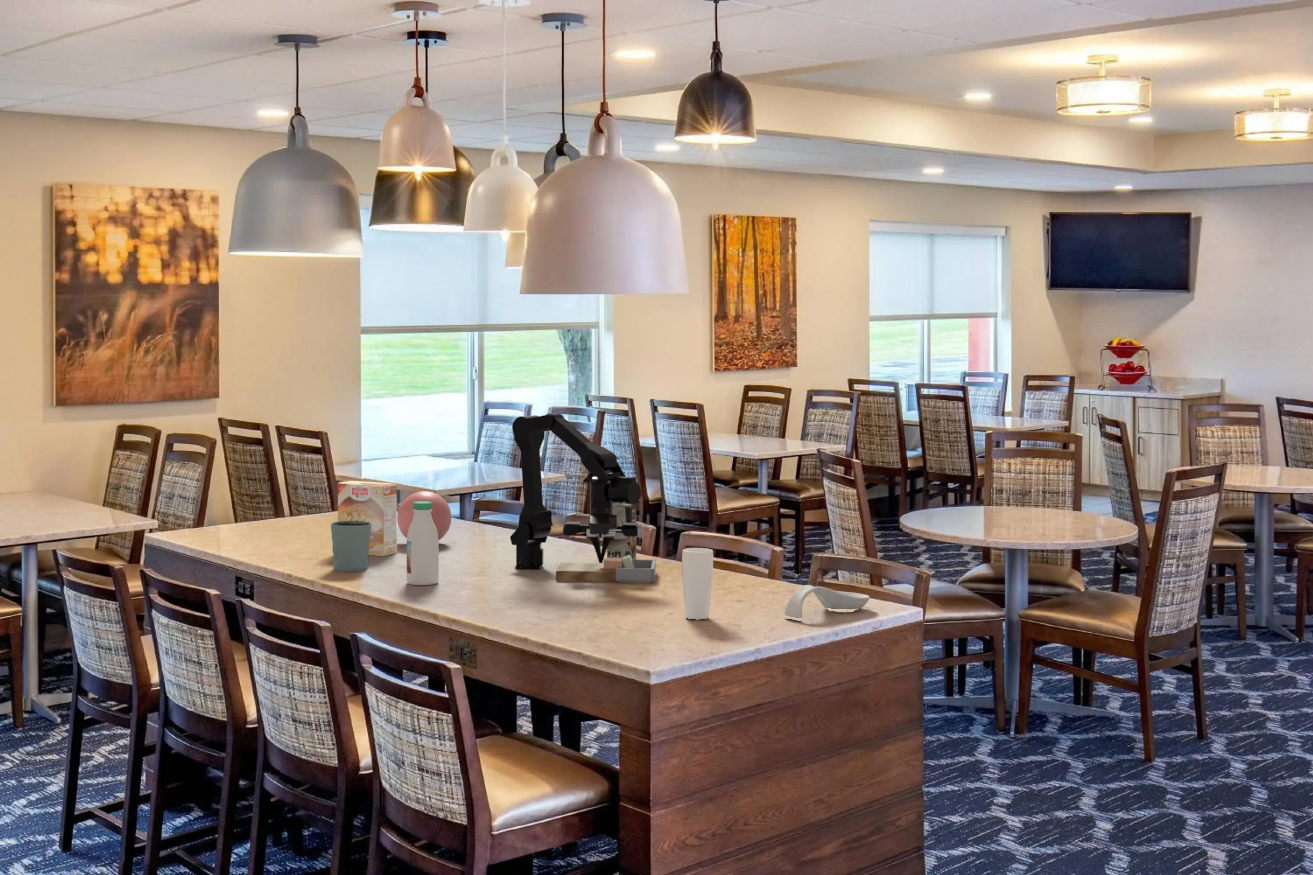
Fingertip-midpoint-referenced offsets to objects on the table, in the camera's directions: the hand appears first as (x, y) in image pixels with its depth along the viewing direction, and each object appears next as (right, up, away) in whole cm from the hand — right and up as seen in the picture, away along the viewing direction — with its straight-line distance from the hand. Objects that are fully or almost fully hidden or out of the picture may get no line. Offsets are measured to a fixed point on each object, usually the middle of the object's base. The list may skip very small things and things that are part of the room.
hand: (600, 562), depth 352 cm
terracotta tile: (+3, -1, 0) cm, 3 cm away
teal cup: (-65, -3, +8) cm, 65 cm away
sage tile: (+6, -1, 0) cm, 6 cm away
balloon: (-54, +1, +52) cm, 75 cm away
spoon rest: (+52, -8, -41) cm, 67 cm away
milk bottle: (-43, -4, -10) cm, 45 cm away
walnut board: (-3, -4, 0) cm, 5 cm away
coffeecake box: (-66, -1, +34) cm, 74 cm away
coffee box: (+5, -2, +20) cm, 21 cm away
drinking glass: (+23, -8, -48) cm, 54 cm away
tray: (+9, -4, 0) cm, 10 cm away
